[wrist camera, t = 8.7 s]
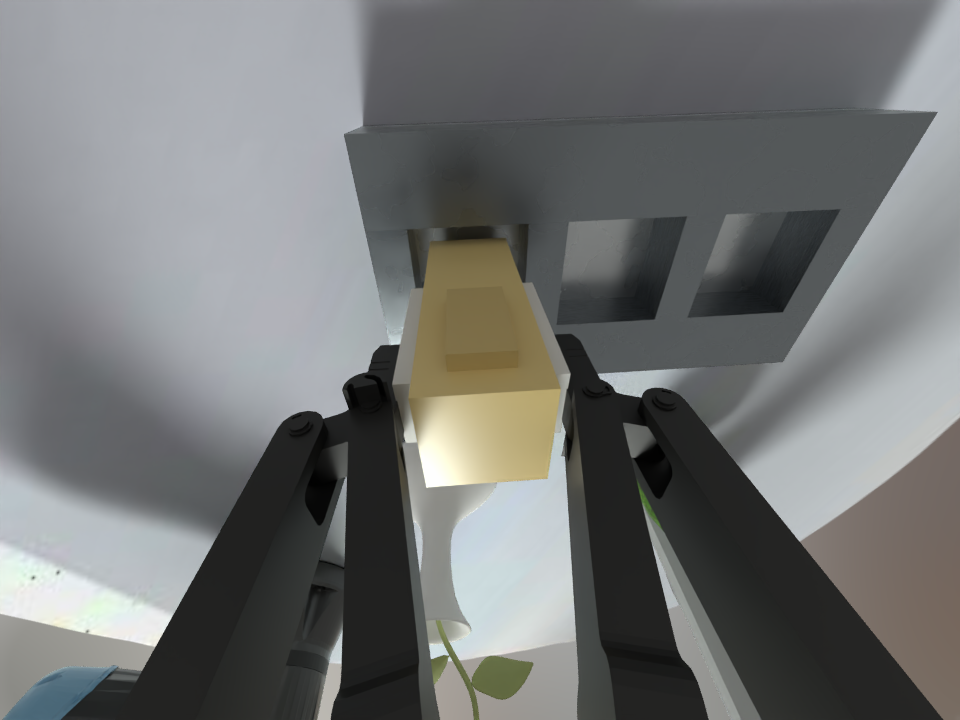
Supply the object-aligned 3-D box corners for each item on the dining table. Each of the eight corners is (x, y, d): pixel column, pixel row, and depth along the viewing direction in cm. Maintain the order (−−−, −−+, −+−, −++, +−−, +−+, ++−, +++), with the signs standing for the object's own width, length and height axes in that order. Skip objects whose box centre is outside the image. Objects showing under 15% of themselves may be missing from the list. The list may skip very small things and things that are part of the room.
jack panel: (405, 350, 26) (399, 385, 23) (362, 126, 18) (343, 134, 15) (744, 330, 27) (782, 362, 24) (856, 108, 19) (937, 111, 16)
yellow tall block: (437, 308, 21) (426, 487, 12) (428, 229, 18) (404, 380, 9) (504, 304, 21) (547, 478, 12) (505, 225, 19) (563, 371, 9)
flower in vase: (371, 487, 37) (278, 957, 17) (391, 412, 30) (277, 1023, 10) (490, 502, 40) (529, 913, 20) (530, 437, 33) (646, 943, 14)
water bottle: (652, 481, 39) (856, 881, 19) (714, 485, 41) (965, 864, 21) (617, 524, 45) (750, 872, 25) (673, 526, 46) (841, 858, 26)
